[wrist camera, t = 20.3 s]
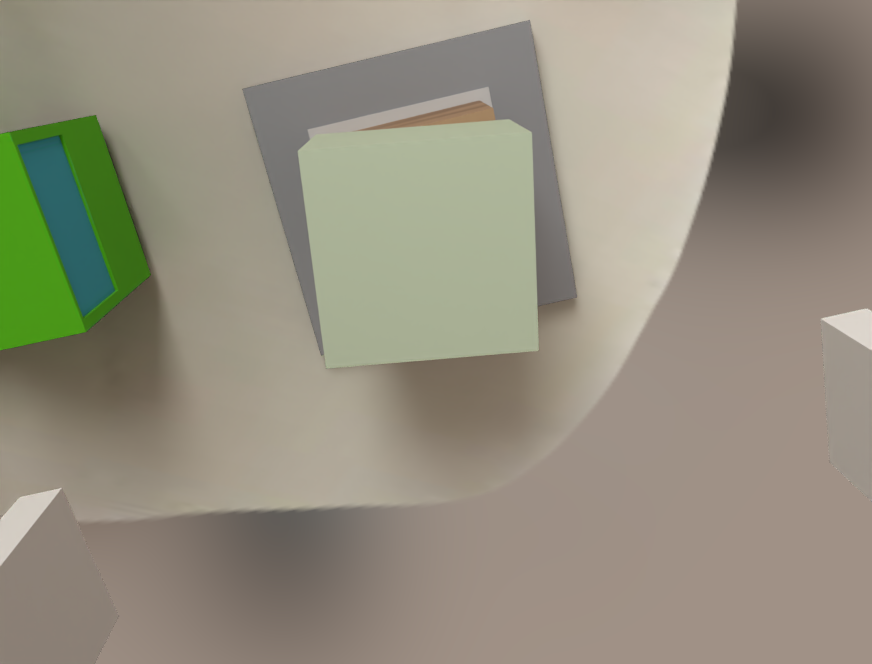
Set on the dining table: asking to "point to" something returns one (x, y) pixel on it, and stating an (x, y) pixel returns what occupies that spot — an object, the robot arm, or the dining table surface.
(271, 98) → the plate
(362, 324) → the green block
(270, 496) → the dining table surface
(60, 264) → the toy car
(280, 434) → the dining table surface
